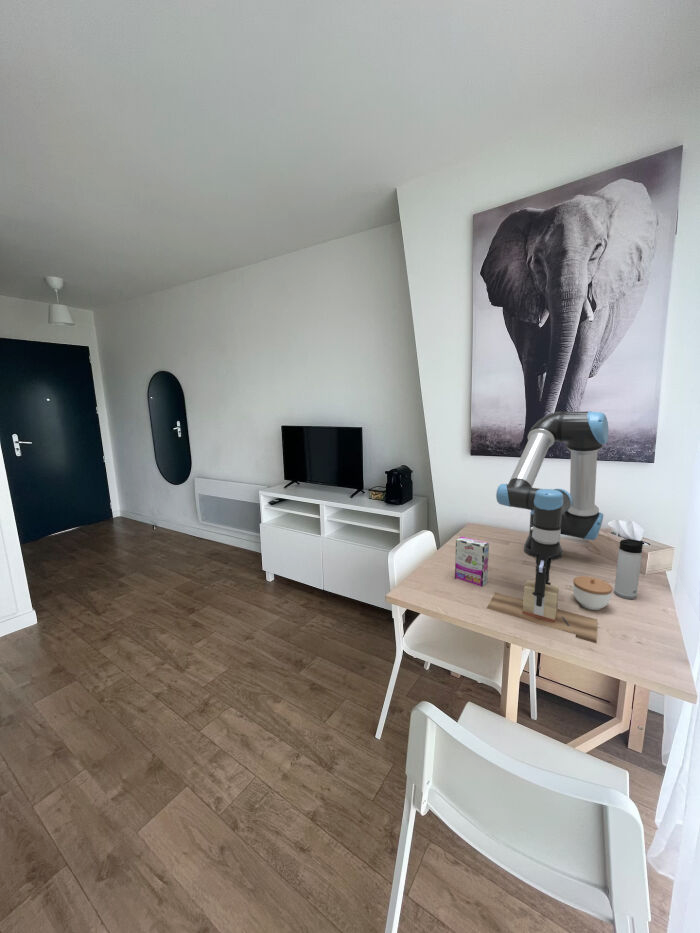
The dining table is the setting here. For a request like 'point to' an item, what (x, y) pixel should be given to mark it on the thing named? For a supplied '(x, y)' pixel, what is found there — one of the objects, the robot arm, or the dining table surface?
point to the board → (563, 621)
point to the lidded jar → (591, 592)
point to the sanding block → (550, 601)
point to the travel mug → (628, 568)
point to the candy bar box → (472, 561)
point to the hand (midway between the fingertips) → (540, 609)
